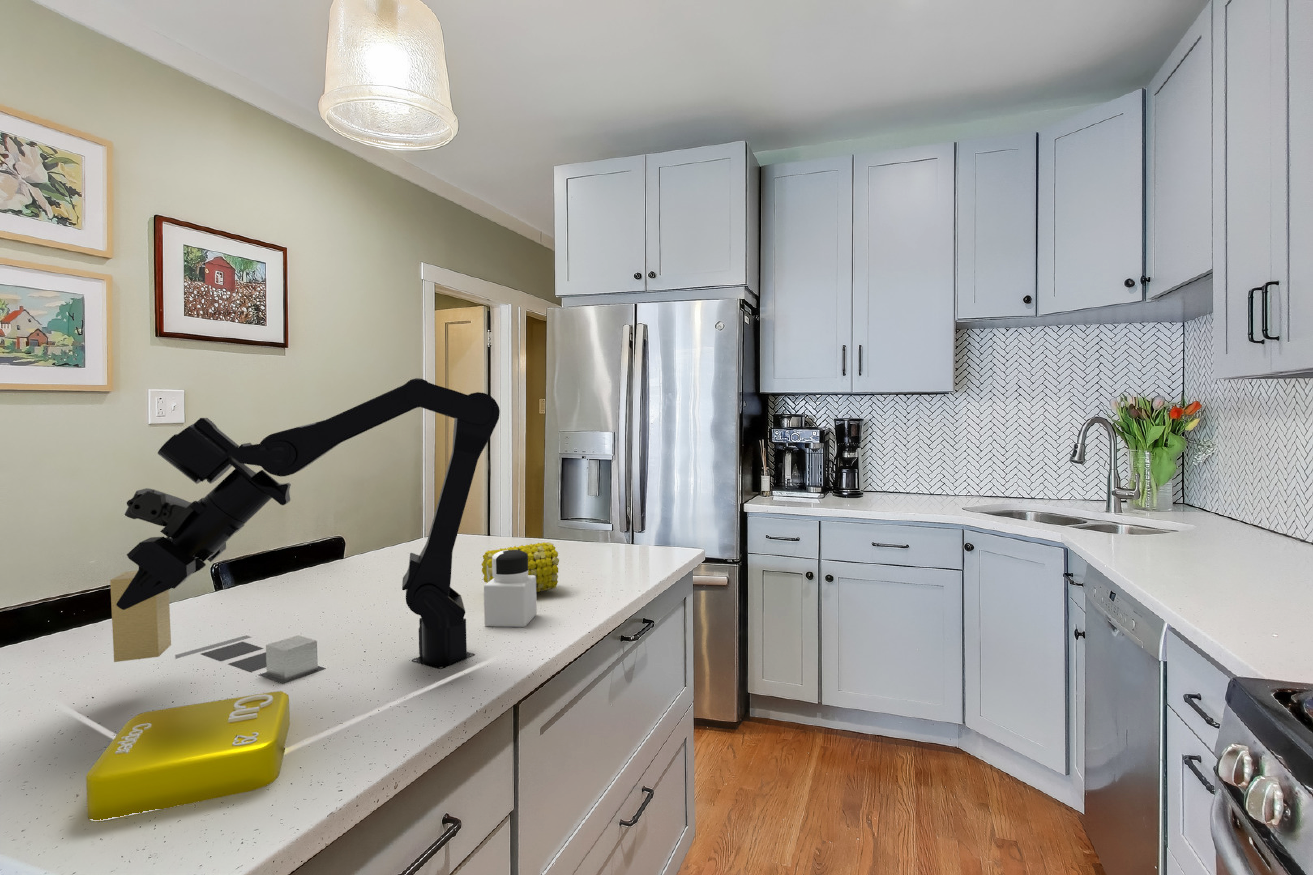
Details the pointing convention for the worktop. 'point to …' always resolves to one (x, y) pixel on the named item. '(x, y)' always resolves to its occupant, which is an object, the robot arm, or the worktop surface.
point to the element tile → (190, 755)
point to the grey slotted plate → (245, 664)
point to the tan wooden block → (139, 623)
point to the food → (531, 564)
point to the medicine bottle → (510, 591)
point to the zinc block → (291, 657)
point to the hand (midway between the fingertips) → (127, 602)
